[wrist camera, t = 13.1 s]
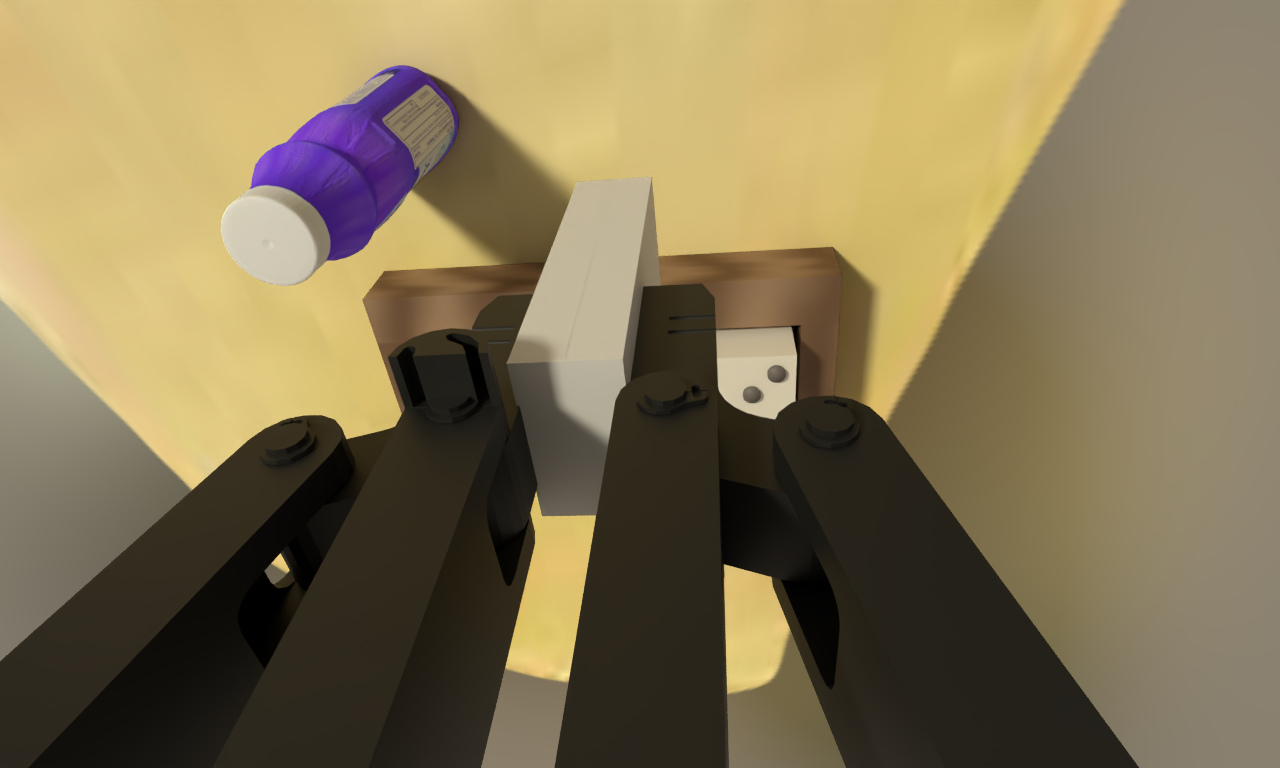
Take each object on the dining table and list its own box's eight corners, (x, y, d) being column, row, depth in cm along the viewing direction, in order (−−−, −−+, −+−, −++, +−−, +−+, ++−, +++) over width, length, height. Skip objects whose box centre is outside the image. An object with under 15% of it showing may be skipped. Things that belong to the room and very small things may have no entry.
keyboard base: (431, 421, 58) (415, 454, 55) (384, 271, 51) (362, 299, 48) (822, 409, 55) (830, 443, 52) (832, 247, 48) (842, 275, 44)
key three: (709, 377, 53) (710, 433, 48) (706, 310, 50) (706, 361, 45) (785, 374, 53) (794, 430, 47) (787, 306, 49) (797, 358, 44)
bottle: (406, 193, 47) (279, 336, 33) (333, 123, 45) (164, 244, 31) (482, 119, 44) (379, 241, 30) (408, 39, 42) (259, 132, 28)
